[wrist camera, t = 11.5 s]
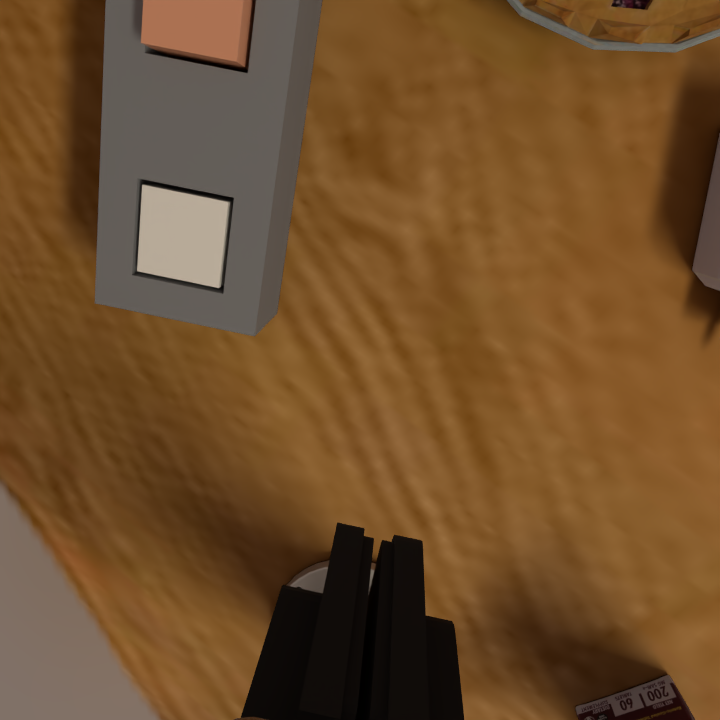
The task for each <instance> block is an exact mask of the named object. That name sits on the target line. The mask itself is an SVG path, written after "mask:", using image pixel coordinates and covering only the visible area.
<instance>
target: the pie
mask: <svg viewBox="0 0 720 720" xmlns="http://www.w3.org/2000/svg"><path fill="white" fill-rule="evenodd" d="M507 1H508V2H509V3H510V5H511V6H512V7H513V8H514V9H515V11H516V12H517V13H518V14H519V15H520V16H522V17H524V18H526V19H528V20H530V21H532V22H535V23H537V24H539V25H541V26H543V27H545V28H548V29H550V30H552V31H554V32H556V33H558V34H561V35H563V36H565V37H567V38H569V39H571V40H574V41H576V42H578V43H580V44H582V45H584V46H587V47H589V48H591V49H597V50H625V51H652V52H678V51H680V50H683V49H686V48H688V47H691V46H694V45H696V44H699V43H702V42H705V41H707V40H710V39H713V38H715V37H718V36H720V0H507Z"/></svg>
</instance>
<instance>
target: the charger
mask: <svg viewBox="0 0 720 720" xmlns="http://www.w3.org/2000/svg"><path fill="white" fill-rule="evenodd" d="M692 271H693V272H694V273H695V274H696V275H697V277H698V278H699V279H700V280H701V281H702V282H703V284H704V285H705V286H707V287H710V288H713V289H716V290H718V291H720V134H719V139H718V144H717V149H716V154H715V159H714V164H713V169H712V174H711V179H710V184H709V189H708V193H707V198H706V203H705V208H704V213H703V218H702V223H701V228H700V233H699V238H698V243H697V248H696V253H695V258H694V263H693V267H692Z"/></svg>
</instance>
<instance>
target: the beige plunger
mask: <svg viewBox="0 0 720 720" xmlns="http://www.w3.org/2000/svg"><path fill="white" fill-rule="evenodd" d="M233 202H234V198H233V197H228V196H223V195H218V194H213V193H208V192H203V191H198V190H193V189H189V188H184V187H179V186H174V185H169V184H151V185H142V197H141V214H140V231H139V247H138V264H137V271H139V272H144V273H148V274H153V275H158V276H163V277H168V278H173V279H178V280H182V281H187V282H192V283H197V284H202V285H207V286H212V287H216V288H220V287H222V286H223V285H224V283H225V274H226V265H227V256H228V247H229V238H230V229H231V220H232V211H233Z"/></svg>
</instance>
